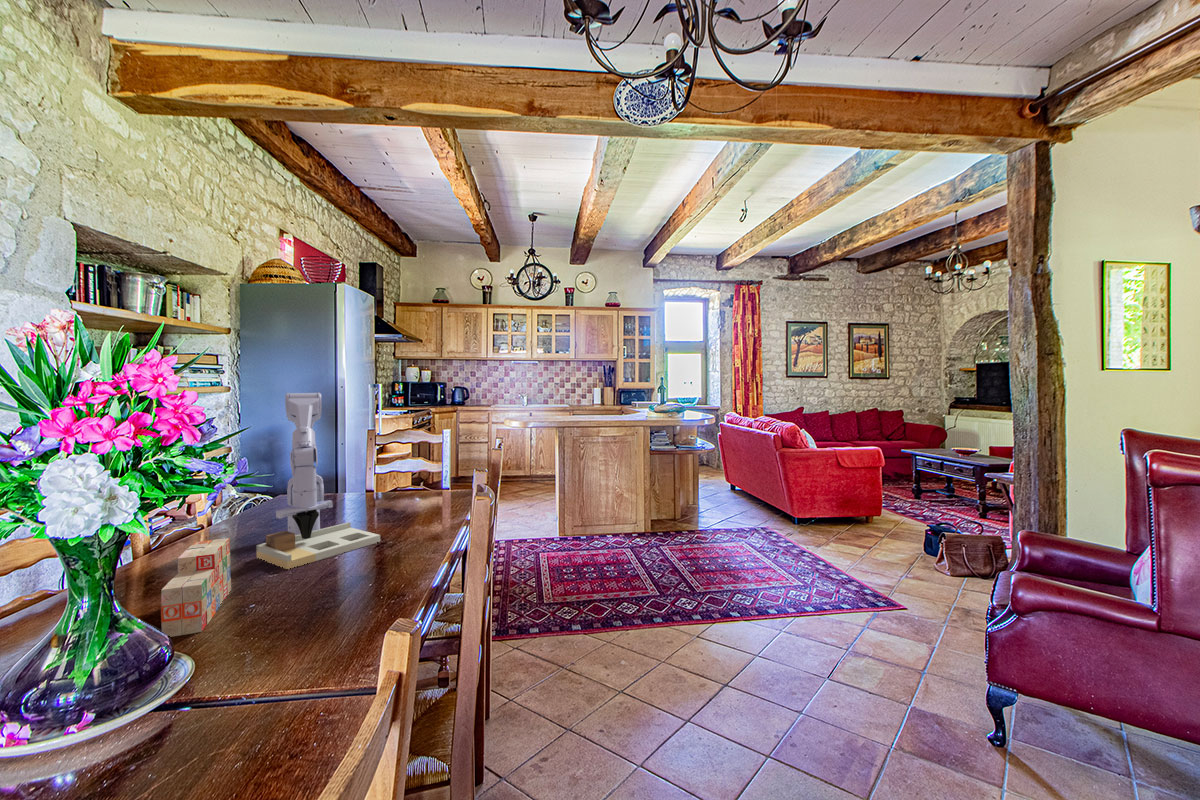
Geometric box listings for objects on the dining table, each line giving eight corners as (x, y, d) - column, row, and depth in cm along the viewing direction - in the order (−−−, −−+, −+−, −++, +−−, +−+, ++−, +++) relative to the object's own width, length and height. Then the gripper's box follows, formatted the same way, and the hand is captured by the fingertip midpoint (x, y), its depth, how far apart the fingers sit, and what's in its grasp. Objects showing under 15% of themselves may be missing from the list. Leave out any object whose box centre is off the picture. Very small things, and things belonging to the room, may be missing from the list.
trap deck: (256, 558, 135) (256, 545, 135) (348, 533, 157) (348, 522, 157) (287, 569, 127) (287, 555, 127) (380, 541, 149) (380, 529, 149)
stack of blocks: (203, 632, 95) (201, 568, 95) (161, 639, 93) (158, 573, 92) (231, 590, 115) (230, 536, 114) (197, 595, 112) (195, 540, 112)
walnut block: (266, 550, 136) (265, 535, 136) (285, 545, 140) (285, 530, 140) (275, 553, 133) (275, 538, 133) (295, 548, 137) (294, 533, 137)
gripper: (284, 496, 134) (286, 547, 134) (338, 487, 146) (339, 533, 147) (271, 493, 138) (272, 543, 138) (324, 484, 150) (325, 529, 150)
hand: (306, 537), depth 143 cm, fingers closed
